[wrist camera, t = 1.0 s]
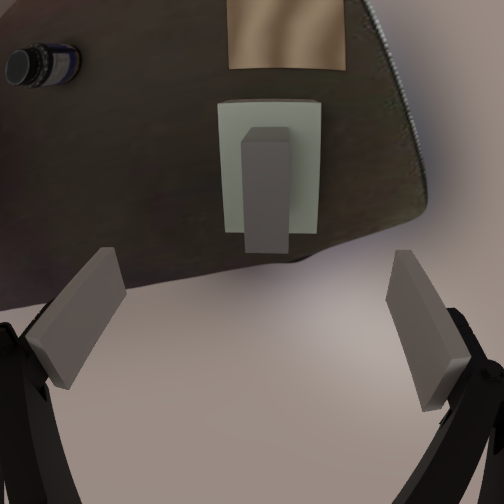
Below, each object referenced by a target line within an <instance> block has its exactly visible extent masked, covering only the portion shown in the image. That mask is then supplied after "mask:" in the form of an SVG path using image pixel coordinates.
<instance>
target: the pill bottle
mask: <svg viewBox="0 0 504 504" xmlns="http://www.w3.org/2000/svg"><path fill="white" fill-rule="evenodd" d="M80 64H81V57H80V54H79V51H78V50H77V48H75V47H74V46H72V45H68V44H40V43H37V44H32V45H30V46H29V47H27V48H26V49H18V50H16V51H14V52H13V53H12V54H11V55H10V57H9V58H8V60H7V63H6V67H5V76H6V79H7V81H8V83H9V84H11V85H14V86H18V85H22V86H23V87H25V88H36V87H42V86H49V85H56V84H64V83H67V82H69V81H70V80H72V79H73V78H74V77H75V76H76V74H77V73H78V71H79V68H80Z"/></svg>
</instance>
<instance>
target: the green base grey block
mask: <svg viewBox="0 0 504 504" xmlns="http://www.w3.org/2000/svg"><path fill="white" fill-rule="evenodd" d="M218 123H219V141H220V159H221V175H222V191H223V206H224V221H225V232H244V236H245V253H288V247H289V233H314V234H316V233H317V217H318V198H319V175H320V144H321V103H319V102H233V103H218Z"/></svg>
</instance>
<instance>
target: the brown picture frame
mask: <svg viewBox="0 0 504 504" xmlns="http://www.w3.org/2000/svg"><path fill="white" fill-rule="evenodd" d="M227 21H228V51H229V69H248V68H309V69H329V70H343V71H345V27H344V6H343V0H227Z"/></svg>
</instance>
